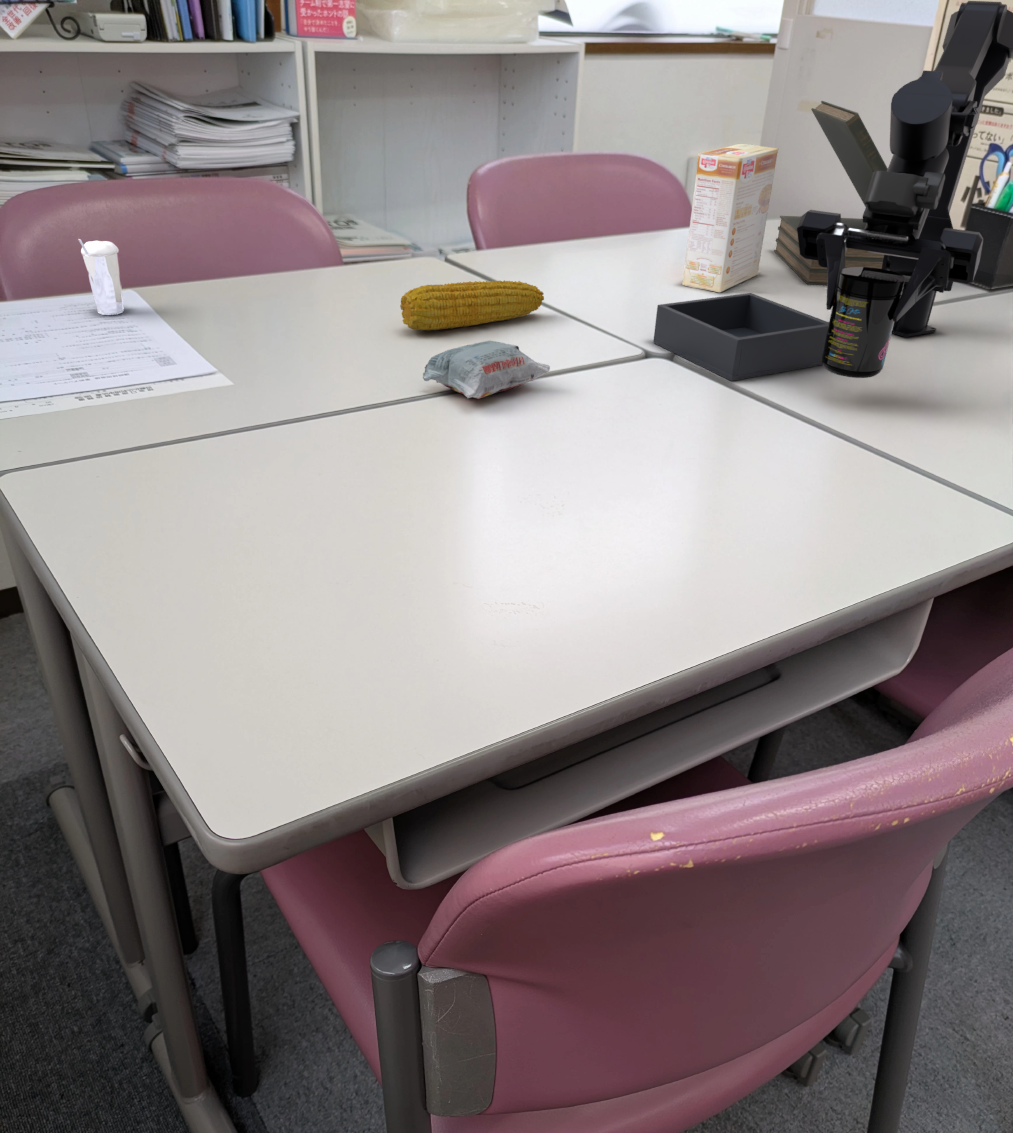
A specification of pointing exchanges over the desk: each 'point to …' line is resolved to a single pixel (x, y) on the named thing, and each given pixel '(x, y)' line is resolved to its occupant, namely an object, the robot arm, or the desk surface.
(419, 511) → the desk surface
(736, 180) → the coffeecake box
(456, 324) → the food
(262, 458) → the desk surface
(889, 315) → the supplement container
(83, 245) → the milkshake
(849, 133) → the stack of books
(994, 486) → the desk surface
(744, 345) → the square tray
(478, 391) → the packaged food
